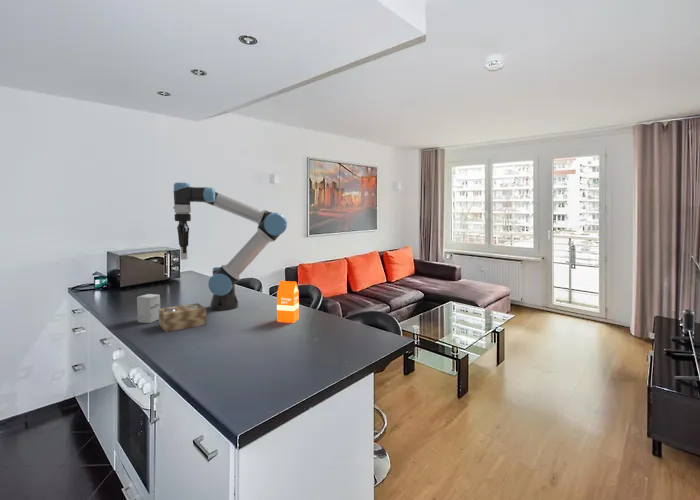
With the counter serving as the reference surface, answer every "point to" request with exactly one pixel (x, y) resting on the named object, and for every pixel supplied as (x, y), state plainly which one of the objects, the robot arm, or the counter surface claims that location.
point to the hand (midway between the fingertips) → (184, 259)
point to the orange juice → (287, 302)
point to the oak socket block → (182, 317)
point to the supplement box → (148, 308)
